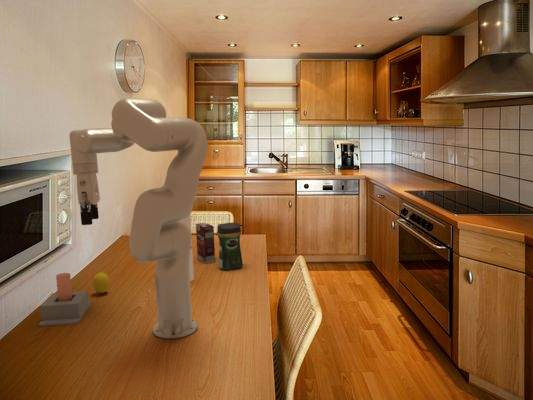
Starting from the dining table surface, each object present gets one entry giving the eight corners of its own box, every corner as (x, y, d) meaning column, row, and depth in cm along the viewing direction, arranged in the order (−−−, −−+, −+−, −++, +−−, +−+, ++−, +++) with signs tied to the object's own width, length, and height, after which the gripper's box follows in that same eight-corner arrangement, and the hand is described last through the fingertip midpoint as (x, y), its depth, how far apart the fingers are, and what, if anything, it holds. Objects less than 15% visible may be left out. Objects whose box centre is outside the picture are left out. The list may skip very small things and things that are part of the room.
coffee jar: (239, 263, 195) (237, 220, 192) (244, 268, 188) (243, 223, 185) (216, 266, 192) (214, 222, 189) (221, 271, 185) (219, 226, 182)
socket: (77, 323, 139) (75, 306, 138) (38, 326, 138) (37, 309, 137) (91, 303, 154) (89, 288, 154) (56, 305, 153) (55, 290, 152)
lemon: (104, 289, 167) (102, 268, 166) (113, 293, 164) (111, 271, 163) (90, 294, 163) (88, 272, 162) (99, 297, 160) (97, 275, 158)
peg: (71, 313, 144) (67, 276, 142) (57, 314, 144) (54, 277, 142) (74, 308, 148) (71, 272, 146) (61, 309, 148) (58, 273, 146)
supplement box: (196, 259, 203) (195, 223, 201) (206, 257, 206) (205, 222, 203) (205, 263, 196) (203, 227, 193) (215, 261, 198) (214, 225, 196)
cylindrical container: (189, 283, 172) (186, 217, 168) (171, 282, 174) (167, 216, 170) (196, 277, 179) (193, 213, 175) (179, 276, 181) (175, 213, 177)
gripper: (92, 170, 140) (97, 226, 143) (102, 166, 157) (107, 216, 160) (65, 172, 139) (71, 228, 142) (79, 167, 156) (84, 217, 159)
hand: (90, 221), depth 151 cm, fingers open, 9 cm apart
